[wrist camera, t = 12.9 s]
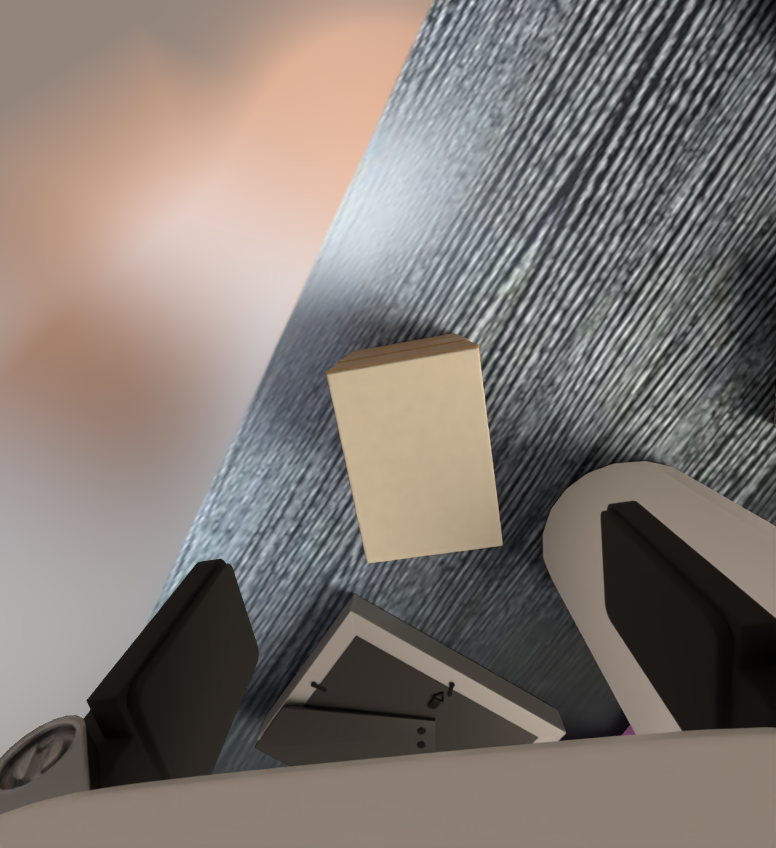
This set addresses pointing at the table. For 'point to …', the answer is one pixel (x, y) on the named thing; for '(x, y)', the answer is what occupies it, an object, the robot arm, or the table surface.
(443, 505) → the cream book
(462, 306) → the table surface
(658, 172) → the table surface
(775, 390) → the grey book
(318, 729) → the picture frame
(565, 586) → the can
